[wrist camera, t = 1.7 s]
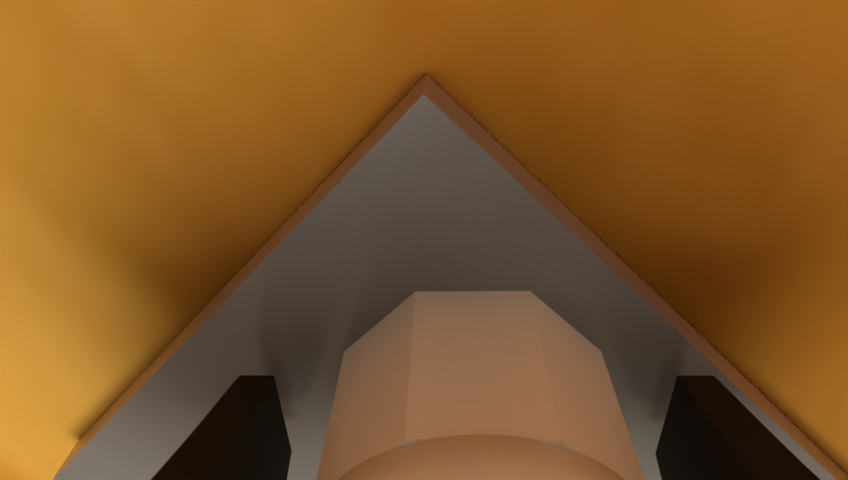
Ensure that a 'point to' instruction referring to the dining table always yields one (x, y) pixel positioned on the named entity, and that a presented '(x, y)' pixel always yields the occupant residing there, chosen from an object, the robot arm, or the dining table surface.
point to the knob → (475, 396)
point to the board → (396, 281)
